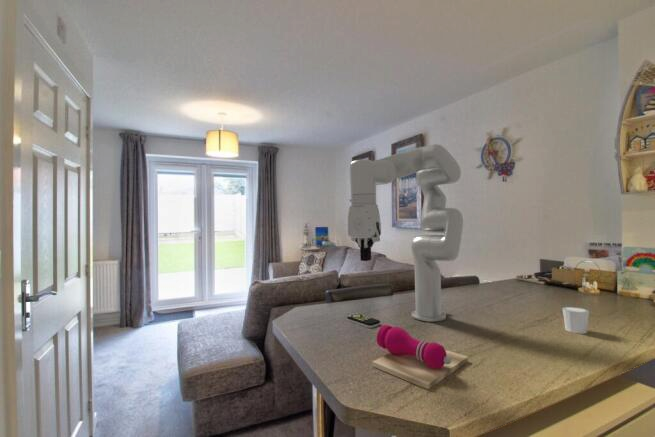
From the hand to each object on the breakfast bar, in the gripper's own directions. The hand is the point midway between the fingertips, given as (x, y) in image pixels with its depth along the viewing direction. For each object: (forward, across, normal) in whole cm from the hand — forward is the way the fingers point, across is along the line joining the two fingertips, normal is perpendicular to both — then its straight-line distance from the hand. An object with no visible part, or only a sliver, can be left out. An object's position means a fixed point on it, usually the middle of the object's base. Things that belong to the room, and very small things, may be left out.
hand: (365, 260), depth 97 cm
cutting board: (+26, +19, -2) cm, 32 cm away
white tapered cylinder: (+28, +42, +55) cm, 75 cm away
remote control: (+27, -14, +14) cm, 33 cm away
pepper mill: (+20, +8, -3) cm, 22 cm away
